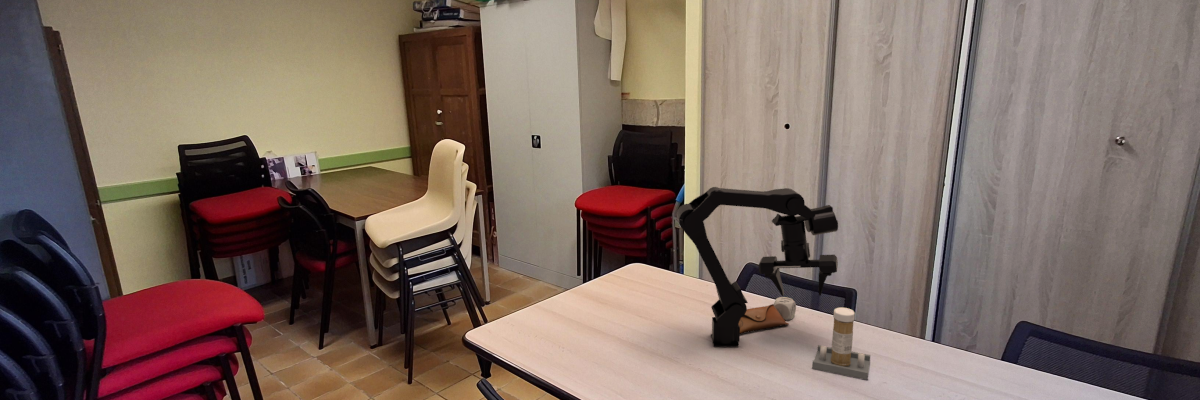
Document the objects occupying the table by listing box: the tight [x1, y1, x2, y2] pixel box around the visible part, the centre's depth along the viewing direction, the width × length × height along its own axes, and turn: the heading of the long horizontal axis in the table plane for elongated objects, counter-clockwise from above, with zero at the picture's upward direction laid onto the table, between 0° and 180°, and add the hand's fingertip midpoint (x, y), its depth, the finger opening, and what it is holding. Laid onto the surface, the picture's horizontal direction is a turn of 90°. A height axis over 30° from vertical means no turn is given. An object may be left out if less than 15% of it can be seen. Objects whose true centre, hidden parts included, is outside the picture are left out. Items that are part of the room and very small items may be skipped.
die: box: [773, 296, 797, 321], centre depth 162 cm, size 5×5×5 cm
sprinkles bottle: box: [831, 307, 856, 366], centre depth 134 cm, size 5×5×14 cm
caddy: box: [811, 344, 871, 381], centre depth 135 cm, size 12×9×4 cm
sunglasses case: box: [738, 303, 790, 335], centre depth 158 cm, size 18×7×7 cm, turn 109°
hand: (801, 295), depth 146 cm, fingers open, 9 cm apart
